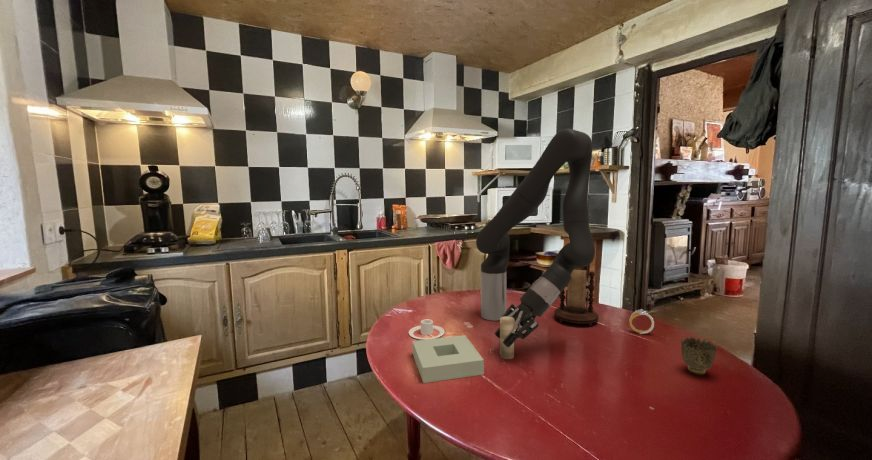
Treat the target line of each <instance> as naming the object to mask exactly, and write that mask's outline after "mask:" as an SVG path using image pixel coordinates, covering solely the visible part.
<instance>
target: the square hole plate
mask: <svg viewBox="0 0 872 460" xmlns="http://www.w3.org/2000/svg"><path fill="white" fill-rule="evenodd" d="M411 342H412V344H411V345H412V356H413V359H414V362H415V365H416V367H417V370H418V372H419V375H420V377H421V380H422V383H423V384H426V383H434V382H441V381H448V380H454V379H455V380H456V379H462V378H469V377H478V376H483V375H484V374H485V359H484V358H483V357H482V356H481V354H480V353H479V352H478V350H477V349H476V347H475V346H474V345H473V344H472V342H471V341H470V340H469V338H468V337H467V335H466V334H463V335H454V336H445V337H438V338H435V339H427V340H421V339H417V340H412V341H411Z"/></svg>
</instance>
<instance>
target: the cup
mask: <svg viewBox="0 0 872 460" xmlns="http://www.w3.org/2000/svg"><path fill="white" fill-rule="evenodd" d="M680 344H681V345H680V346H681V357H682V360H683V362H684V363H685V364H686V365H687V370H688V371H689V373H691V374H693V375H695V376H696V375H697V376H703V375H705V374H706V371H707V370H709V369H710V368H711V367H712V366H713V364H714V361H715V357H716V353H717V350H718V345H715V343H711V342H710V340H708V341H707V340H706V339H703V340H702V341H701V338H700V337H699V338H697V339H696V338H695V337H693V336H691V337H687V336H685V337H684V340H683V339H680Z"/></svg>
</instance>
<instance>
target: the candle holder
mask: <svg viewBox="0 0 872 460" xmlns="http://www.w3.org/2000/svg"><path fill="white" fill-rule="evenodd" d="M417 330H420V334H421V335H422V336H431V335H433V334H434V330H436V331H438V332H439V334H438V335H435V336H433V337H419V336H417V335H415V334H414V333H415V331H417ZM444 334H445V329H444V328H443V327H441V326H440V325H439V326H438V325H434V321H433V320H432V319H428V318H426V319H422V320H420V325H417V326H414V327H412V328H410V329H409V330H408V335H409V336H410V337H411V338H413V339H416V340H427V339H436V338H441V337H443V335H444Z"/></svg>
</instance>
